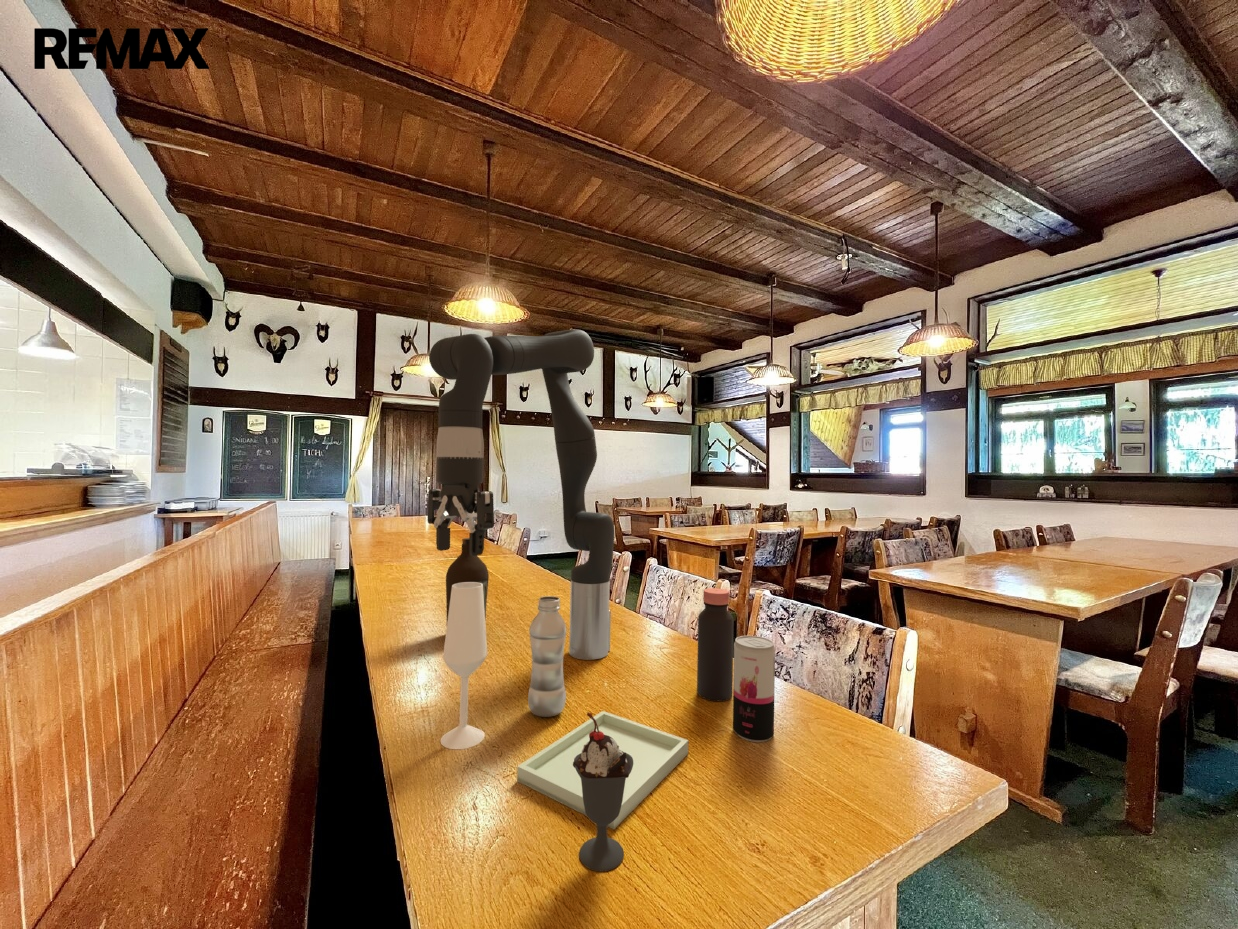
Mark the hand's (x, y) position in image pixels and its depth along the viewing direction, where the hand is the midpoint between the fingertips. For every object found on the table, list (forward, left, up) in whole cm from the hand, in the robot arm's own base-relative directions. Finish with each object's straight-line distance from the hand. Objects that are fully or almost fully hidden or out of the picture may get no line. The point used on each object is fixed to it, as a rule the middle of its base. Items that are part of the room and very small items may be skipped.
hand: (459, 552), depth 83 cm
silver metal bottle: (-12, +9, -29) cm, 33 cm away
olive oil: (-31, -36, -29) cm, 56 cm away
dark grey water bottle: (-37, +30, -29) cm, 56 cm away
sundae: (+9, +36, -29) cm, 47 cm away
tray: (-5, +27, -29) cm, 40 cm away
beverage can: (-27, +41, -29) cm, 57 cm away
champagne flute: (+2, +4, -29) cm, 29 cm away
